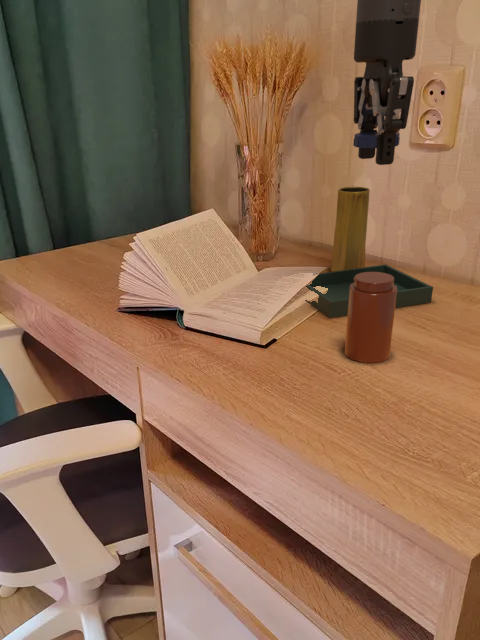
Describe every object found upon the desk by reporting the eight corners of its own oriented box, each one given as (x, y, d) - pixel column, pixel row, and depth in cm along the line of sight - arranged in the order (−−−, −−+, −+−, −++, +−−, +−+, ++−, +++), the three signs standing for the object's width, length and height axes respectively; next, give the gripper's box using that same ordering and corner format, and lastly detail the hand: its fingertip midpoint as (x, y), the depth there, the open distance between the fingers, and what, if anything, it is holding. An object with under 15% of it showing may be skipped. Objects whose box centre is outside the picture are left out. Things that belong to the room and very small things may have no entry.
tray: (384, 278, 103) (386, 264, 102) (431, 302, 92) (433, 286, 91) (292, 291, 100) (293, 276, 99) (329, 318, 88) (330, 302, 87)
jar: (373, 342, 80) (380, 268, 75) (398, 358, 75) (408, 280, 71) (336, 349, 79) (341, 274, 74) (360, 366, 74) (367, 287, 69)
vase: (343, 263, 112) (349, 185, 105) (371, 269, 108) (379, 188, 101) (323, 271, 108) (328, 190, 102) (352, 278, 104) (359, 194, 98)
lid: (350, 148, 80) (351, 136, 79) (357, 143, 84) (358, 131, 84) (395, 148, 77) (397, 135, 77) (401, 143, 82) (402, 131, 81)
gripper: (338, 24, 80) (331, 157, 88) (380, 14, 67) (368, 170, 75) (392, 21, 81) (380, 153, 88) (444, 10, 68) (425, 166, 76)
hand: (375, 160), depth 82 cm, fingers closed on lid, 5 cm apart
